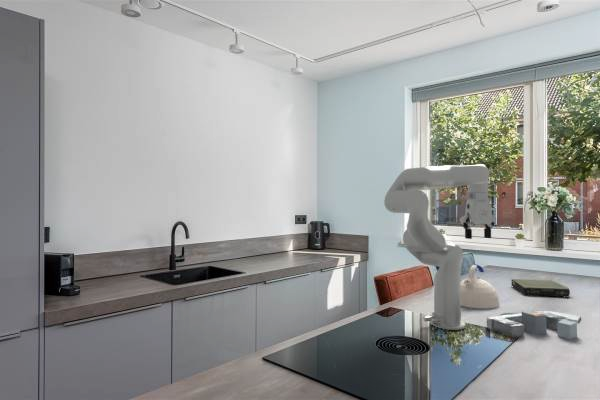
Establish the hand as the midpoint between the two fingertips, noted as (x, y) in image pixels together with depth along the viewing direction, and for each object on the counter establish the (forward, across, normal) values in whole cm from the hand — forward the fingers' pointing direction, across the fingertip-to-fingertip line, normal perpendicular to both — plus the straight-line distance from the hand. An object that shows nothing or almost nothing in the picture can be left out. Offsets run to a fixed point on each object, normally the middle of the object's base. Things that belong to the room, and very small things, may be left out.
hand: (478, 238), depth 161 cm
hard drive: (+33, +31, -12) cm, 47 cm away
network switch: (+33, +62, +26) cm, 75 cm away
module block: (+32, +6, -21) cm, 39 cm away
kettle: (+33, +14, +18) cm, 40 cm away
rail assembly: (+32, +6, -20) cm, 38 cm away
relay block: (+32, +12, -29) cm, 45 cm away
